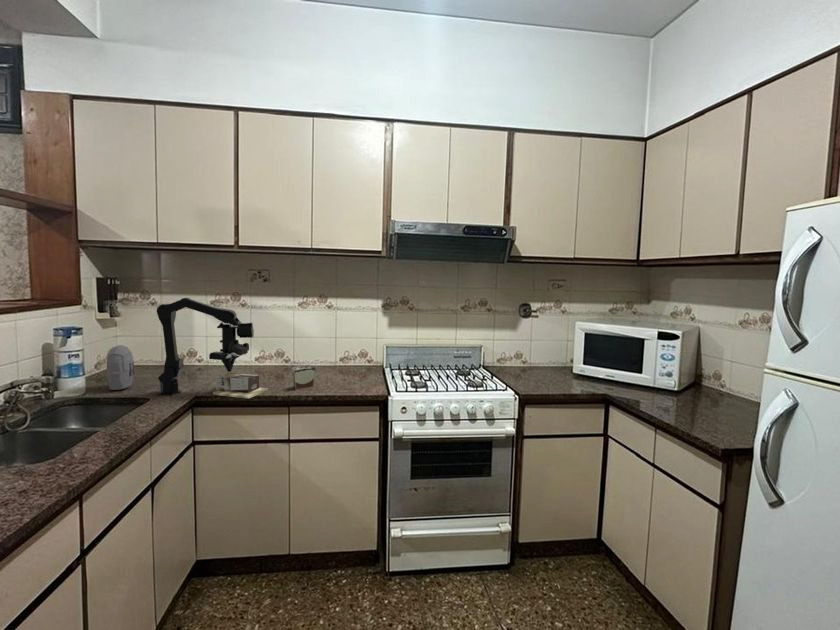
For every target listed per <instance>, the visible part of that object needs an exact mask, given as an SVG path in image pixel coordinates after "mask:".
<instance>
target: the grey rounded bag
mask: <svg viewBox="0 0 840 630" xmlns="http://www.w3.org/2000/svg"><path fill="white" fill-rule="evenodd" d="M105 372H106V380H107V384H108V388H109V390H112V391H113V390H114V391H116V390H117V391H119V390H124V389H127V388H129V387H131V386H132V384H133V380H134V375H135V361H134V356H133V352H132V351H131V350H130V348H129V347H128V346H125V345H123V344H122V345H121V344H119V345H116V346H112V347H111V348H109V351H108V353H107V361H106V369H105Z"/></svg>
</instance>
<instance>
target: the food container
mask: <svg viewBox="0 0 840 630" xmlns="http://www.w3.org/2000/svg"><path fill="white" fill-rule="evenodd" d="M316 371H317V367H316V365H307V364H306V365H297V366H294V367H292V369H291V374H292V377H293V388H294V390H295V391H298V389H299V390H304V389H303V388H305V389H309V388H308V387H310V388H314V387H313V386H314V385H315V375H316V374H315V373H316Z"/></svg>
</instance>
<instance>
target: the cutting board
mask: <svg viewBox="0 0 840 630" xmlns="http://www.w3.org/2000/svg"><path fill="white" fill-rule="evenodd" d="M265 391H266V392H268V391H269V388H268V387H259V388H258V389H256V390H254V391H251V392H249V393H246V392H235V391H225V390H216V391H213V392H212V393H213V395H215V396H224V397H232V398H240V399H249V400H250V399H251V398H253V397H255V396H258V395H261V394H263V393H265Z"/></svg>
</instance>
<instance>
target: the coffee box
mask: <svg viewBox="0 0 840 630" xmlns="http://www.w3.org/2000/svg"><path fill="white" fill-rule="evenodd" d="M215 377H216V378H215V390H216V391H219V390H225V391H235V392H246V393H249V392H251V391H254V390H256V389H258V388H260V375H259V374H249V373H235V372H227V373H223V374H221V375H217V376H215Z"/></svg>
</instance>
